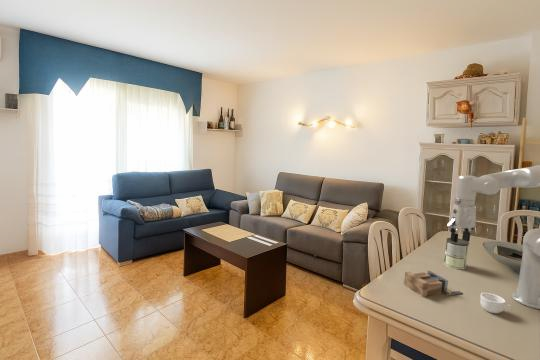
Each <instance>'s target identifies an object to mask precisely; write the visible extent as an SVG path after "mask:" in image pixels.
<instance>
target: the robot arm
mask: <svg viewBox="0 0 540 360" xmlns="http://www.w3.org/2000/svg"><path fill="white" fill-rule="evenodd" d="M539 187H540V164H538V165H532V166H528V167H521V168H516V169H511V170H504V171H498V172H495V173H489V174H484V175H481V176H475V175H470V174H469V175H468V174H467V175H466V174H461V175H458V177H457V180H456V187H455V196H454V201H453V202H454V204H453V206H452V210H451V213H450V221H449V222H448V223H447V225H446V227H447V228H448V229H449V231H450V238H451V239H450V240H451V241H453V242H457V241H458V238H459V231H460V230H461V229H463V231H462V235H461V236H462V238H461V239H463V240H465V241H468V242H470V239H471V233H472V231H473V230H474V228H475V227H476V226H477V223H476V219H477V210H476V209H477V207H476V206H475V204H476V196H477V194H483V195H489V196H490V195H495V194H497V193H499V191H500V190H501V189H511V188H521V189H522V188H524V189H528V188H529V189H530V188H539ZM519 269H520V270H519V276H518V283H517V289H516V291H513V292H511V298H512V299H513V300H514V301H516V302H517V303H519V304H522V305H523V306H527V307H528V308H533V309H537V310H540V228H537V227H536V228H531V229H530V230H529V229H528V231H526V233H525V234H524V236H523V238H522V257H521V263H520V268H519Z"/></svg>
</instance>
